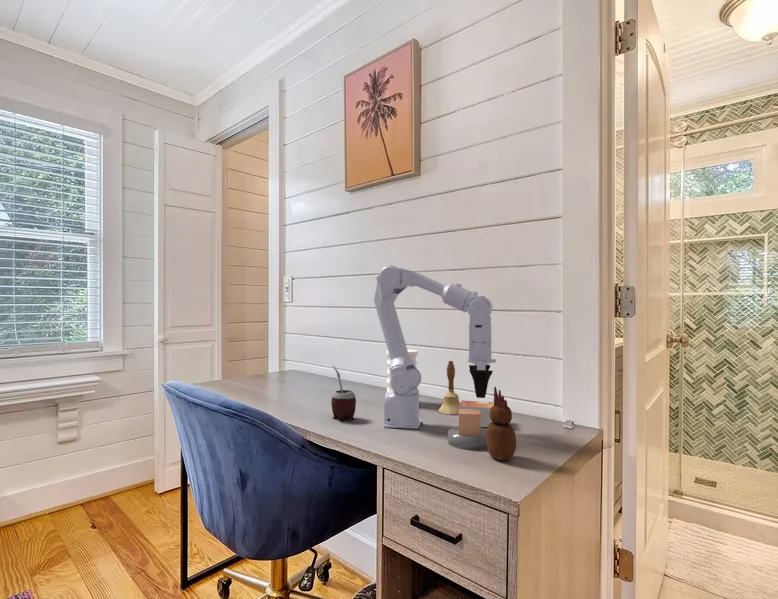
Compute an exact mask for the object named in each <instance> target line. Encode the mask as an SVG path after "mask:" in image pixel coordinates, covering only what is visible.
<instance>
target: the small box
mask: <svg viewBox="0 0 778 599" xmlns="http://www.w3.org/2000/svg"><path fill="white" fill-rule="evenodd" d="M492 406H494V401H492V402H491V401H481V400H480V401H476V400H461V403H460V409H477V410H480V414H481V428H485V427H488V425H489V424H490V423H491V422H492V421H491V419H490V409H491V408H492Z"/></svg>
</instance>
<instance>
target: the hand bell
mask: <svg viewBox="0 0 778 599" xmlns="http://www.w3.org/2000/svg"><path fill="white" fill-rule="evenodd" d="M455 375H456V369H455V365H454V361H453V360H448V363H447V367H446V376H447V380H448V387H447V389H448V391H447V393H444V395H443V401H442V404H441V406H440V407H439V409H437V412H438V411H439V412H441V413H445V414H459V409H460V406H461V403H460V397H459V395H458V394H457V393H456V392H455V388H454V387H455V386H454V383H455V382H454V381H455V380H454V379H455V377H456V376H455ZM439 412H438V413H439ZM441 413H440V414H441ZM445 414H444V415H445Z"/></svg>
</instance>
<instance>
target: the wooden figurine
mask: <svg viewBox="0 0 778 599" xmlns="http://www.w3.org/2000/svg"><path fill="white" fill-rule="evenodd" d="M507 401H508V400H507V399H505V396H504V395H502V390H501V389H498V391H497V386H494V389H493V402H494V406H492V408H491V409H490V419H491V421H492V422H491V423H490V424H489V425H488V427H487V428H486V430H487V431H486V441H487V448H486V449H487V452H488V453H489V456H490V458H492V459H494V460H496V461H499V462H501V461H502V462H503V461H504V462H505V461H509V460H511V459H513V457H514V454H515V452H516V448H517V437H516V432H515V428H513V426H512V425H511V424H510V423H511V422H512V419H513V413H512V409H511V408H510V407H509V406H508V402H507Z"/></svg>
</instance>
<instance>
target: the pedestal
mask: <svg viewBox="0 0 778 599" xmlns="http://www.w3.org/2000/svg"><path fill="white" fill-rule="evenodd" d="M486 431H487V429H484V428H481V436H471V435H459V426H456V427H451V428H449V429H448V430H447V443H449V444H448V445H450V446H451V445H452V446H451V447H453V446H454V448H456V447H458V448H457V449H461V448H463V449H462V450H469V449H473V450H474V449H475V450H476V449H478V450H484V449H488V448H487V441H486Z"/></svg>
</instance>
